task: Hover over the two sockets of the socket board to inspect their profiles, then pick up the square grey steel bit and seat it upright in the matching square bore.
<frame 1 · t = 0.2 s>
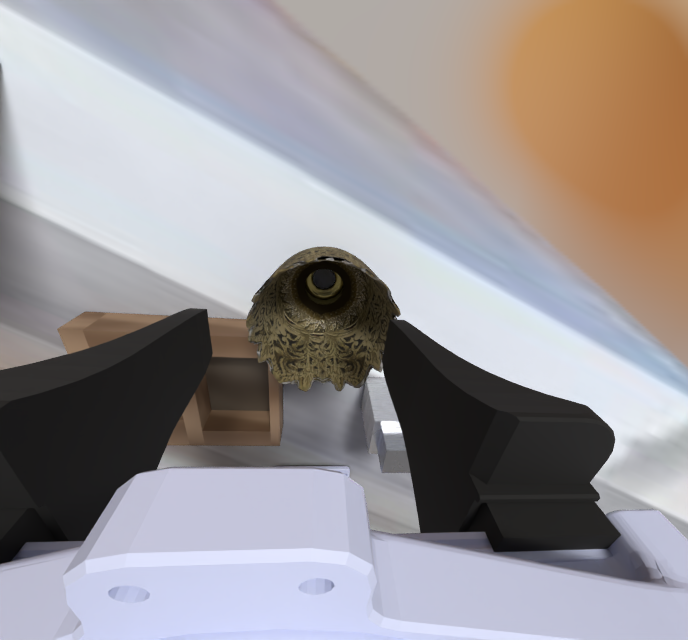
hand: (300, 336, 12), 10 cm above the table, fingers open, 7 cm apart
socket board: (197, 375, 24), on the table
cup: (323, 277, 21), on the table
steel bit: (382, 392, 27), on the table
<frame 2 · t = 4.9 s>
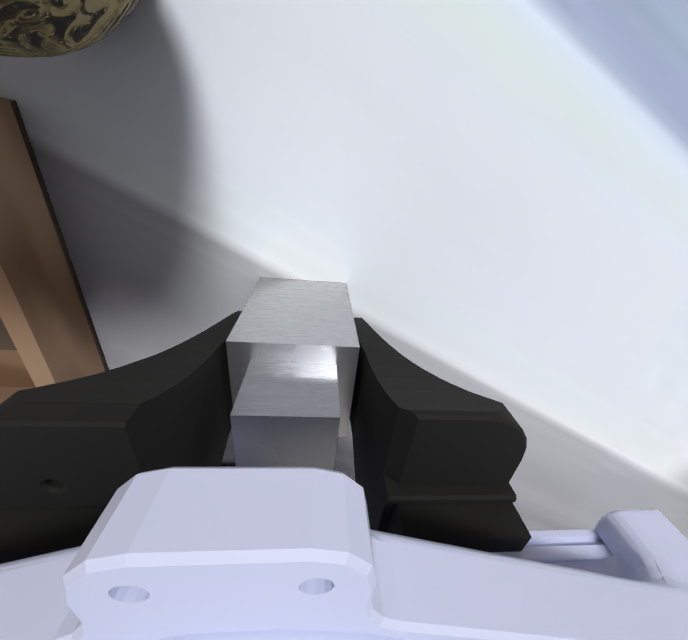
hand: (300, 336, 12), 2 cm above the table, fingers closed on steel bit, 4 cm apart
steel bit: (302, 317, 13), on the table, touching gripper
when the fingers open (3 cm above the table, at t = 9.1 s): steel bit stays where it is, resting on socket board.
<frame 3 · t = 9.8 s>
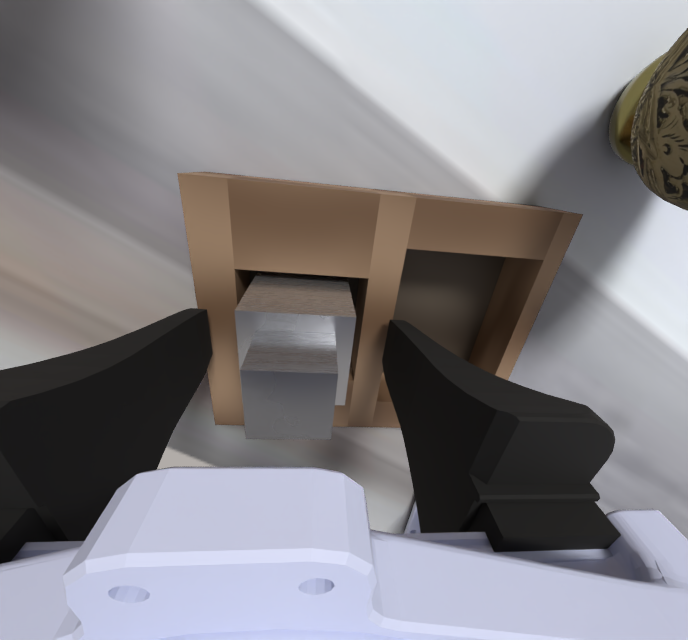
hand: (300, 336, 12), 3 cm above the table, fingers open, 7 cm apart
socket board: (364, 309, 15), on the table
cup: (640, 114, 12), on the table
steel bit: (303, 300, 14), resting on socket board
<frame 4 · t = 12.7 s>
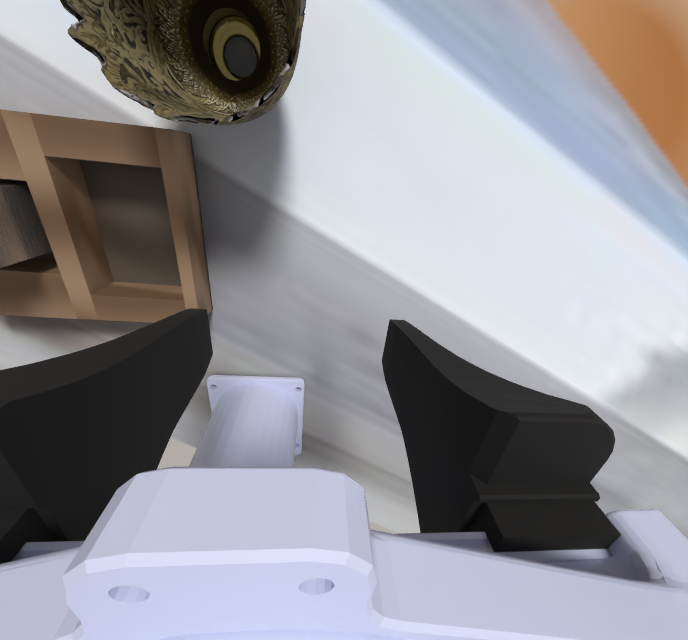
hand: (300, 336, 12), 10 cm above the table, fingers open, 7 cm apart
socket board: (87, 223, 18), on the table
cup: (241, 59, 15), on the table
steel bit: (28, 213, 18), resting on socket board
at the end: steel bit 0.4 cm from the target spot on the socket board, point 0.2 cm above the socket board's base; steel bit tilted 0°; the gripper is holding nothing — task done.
